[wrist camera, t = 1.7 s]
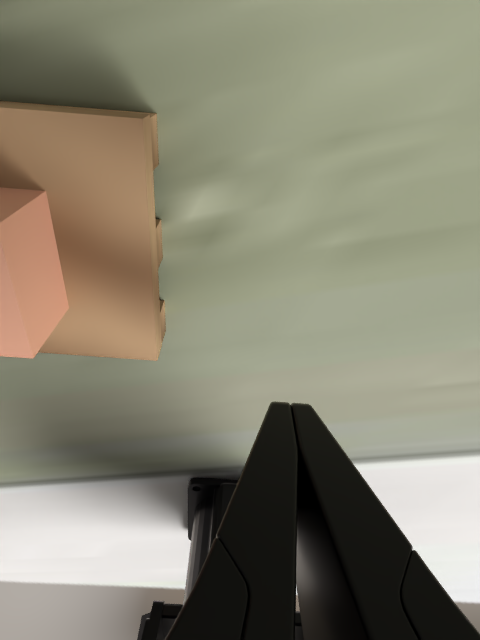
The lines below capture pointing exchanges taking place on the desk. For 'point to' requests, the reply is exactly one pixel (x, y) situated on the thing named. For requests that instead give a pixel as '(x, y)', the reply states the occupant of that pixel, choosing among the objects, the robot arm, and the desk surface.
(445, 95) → the desk surface
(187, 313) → the desk surface
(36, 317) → the salmon pink block
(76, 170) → the pallet
